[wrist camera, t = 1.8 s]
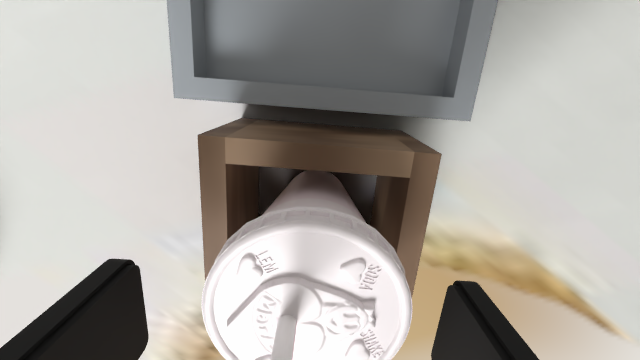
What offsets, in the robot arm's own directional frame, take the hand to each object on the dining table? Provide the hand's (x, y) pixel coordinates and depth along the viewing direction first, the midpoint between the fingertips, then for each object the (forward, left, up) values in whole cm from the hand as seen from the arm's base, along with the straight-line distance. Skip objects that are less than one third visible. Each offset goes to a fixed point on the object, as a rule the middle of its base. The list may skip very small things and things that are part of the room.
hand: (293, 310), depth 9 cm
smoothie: (0, 0, -10) cm, 10 cm away
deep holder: (0, 0, -9) cm, 9 cm away
